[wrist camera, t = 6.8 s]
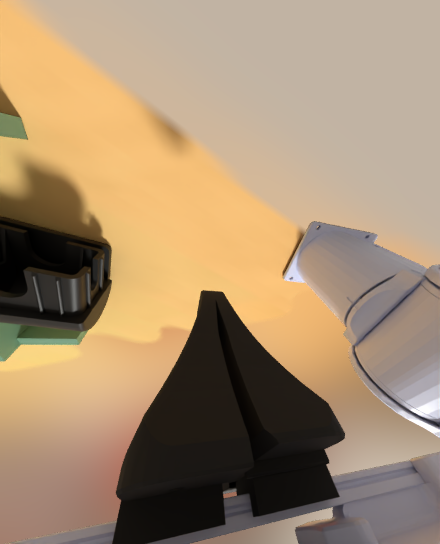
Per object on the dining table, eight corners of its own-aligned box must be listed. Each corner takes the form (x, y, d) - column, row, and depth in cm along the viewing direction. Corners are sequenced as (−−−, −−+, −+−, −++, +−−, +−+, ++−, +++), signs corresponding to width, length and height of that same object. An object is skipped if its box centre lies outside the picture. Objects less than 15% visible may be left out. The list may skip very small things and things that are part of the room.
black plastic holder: (7, 277, 17) (-80, 331, 12) (-13, 212, 14) (-149, 246, 8) (113, 295, 20) (83, 346, 15) (117, 246, 17) (80, 287, 12)
